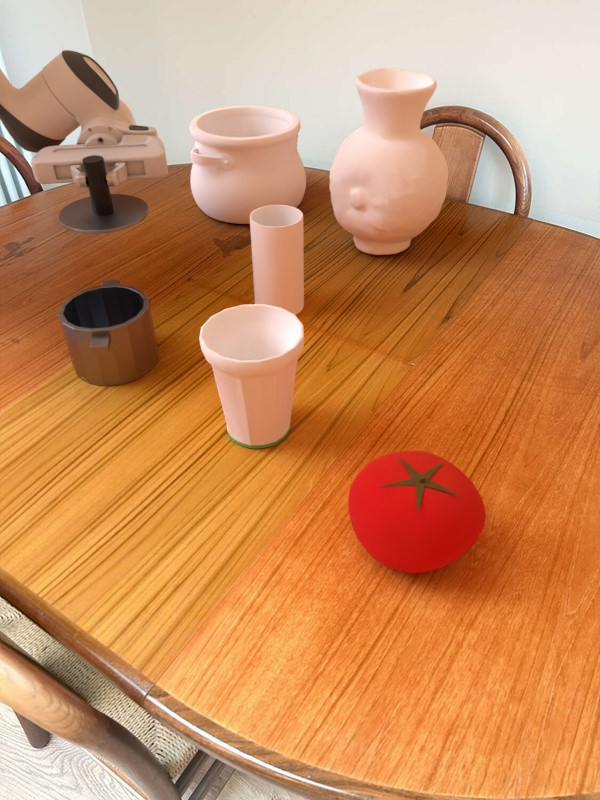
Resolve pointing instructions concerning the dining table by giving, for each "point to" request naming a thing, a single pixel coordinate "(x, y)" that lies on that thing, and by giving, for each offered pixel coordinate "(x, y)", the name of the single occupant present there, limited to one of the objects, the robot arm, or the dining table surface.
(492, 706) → the dining table surface
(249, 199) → the pot
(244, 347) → the cup
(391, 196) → the vase
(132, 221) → the lid
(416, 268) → the dining table surface
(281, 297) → the cup
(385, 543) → the tomato
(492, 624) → the dining table surface
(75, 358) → the cooker
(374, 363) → the dining table surface
